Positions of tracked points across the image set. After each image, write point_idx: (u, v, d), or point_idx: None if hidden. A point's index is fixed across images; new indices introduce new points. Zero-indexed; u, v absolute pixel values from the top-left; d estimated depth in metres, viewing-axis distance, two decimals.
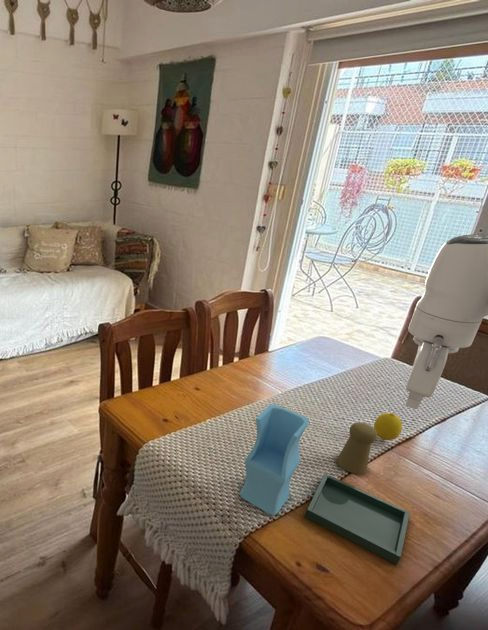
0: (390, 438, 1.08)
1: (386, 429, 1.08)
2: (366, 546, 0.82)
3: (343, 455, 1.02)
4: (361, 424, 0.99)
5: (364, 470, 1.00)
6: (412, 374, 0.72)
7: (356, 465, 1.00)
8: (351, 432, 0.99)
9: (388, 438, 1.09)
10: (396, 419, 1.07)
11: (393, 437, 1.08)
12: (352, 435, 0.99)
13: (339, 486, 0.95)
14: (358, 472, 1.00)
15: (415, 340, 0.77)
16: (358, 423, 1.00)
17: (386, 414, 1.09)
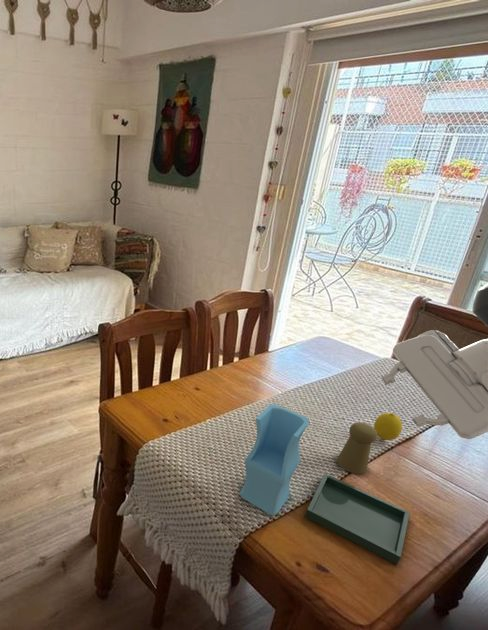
0: (390, 438, 1.08)
1: (386, 429, 1.08)
2: (366, 546, 0.82)
3: (343, 455, 1.02)
4: (361, 424, 0.99)
5: (364, 470, 1.00)
6: None
7: (356, 465, 1.00)
8: (351, 432, 0.99)
9: (388, 438, 1.09)
10: (396, 419, 1.07)
11: (393, 437, 1.08)
12: (352, 435, 0.99)
13: (339, 486, 0.95)
14: (358, 472, 1.00)
15: None
16: (358, 423, 1.00)
17: (386, 414, 1.09)
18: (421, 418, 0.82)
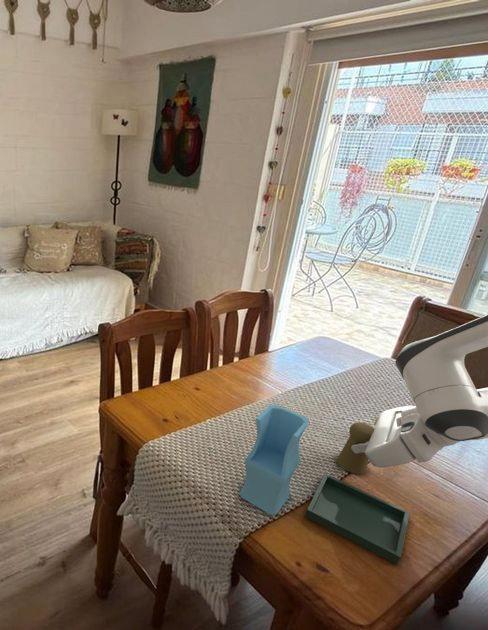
0: None
1: None
2: (366, 546, 0.82)
3: (343, 455, 1.02)
4: (361, 424, 0.99)
5: (364, 470, 1.00)
6: None
7: (356, 465, 1.00)
8: (351, 432, 0.99)
9: None
10: None
11: None
12: (352, 435, 0.99)
13: (339, 486, 0.95)
14: (358, 472, 1.00)
15: None
16: (358, 423, 1.00)
17: None
18: (356, 443, 0.98)
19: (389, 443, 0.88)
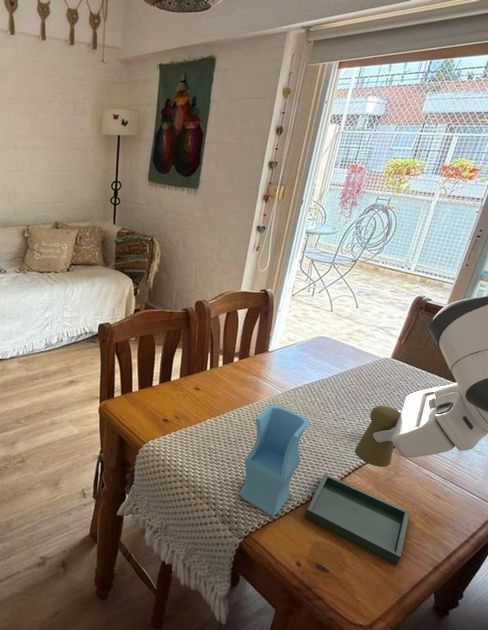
0: None
1: None
2: (366, 546, 0.82)
3: (363, 444, 0.86)
4: (384, 408, 0.84)
5: (388, 462, 0.85)
6: None
7: (378, 456, 0.84)
8: (373, 417, 0.84)
9: None
10: None
11: None
12: (374, 420, 0.84)
13: (339, 486, 0.95)
14: (381, 464, 0.85)
15: None
16: (381, 406, 0.84)
17: None
18: (379, 430, 0.83)
19: (422, 428, 0.72)
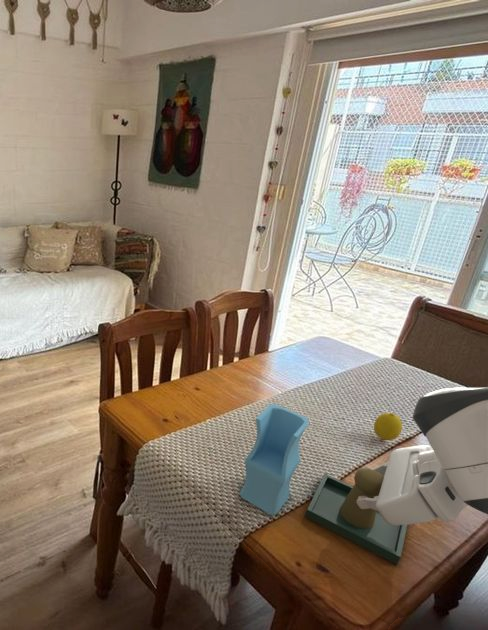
0: (390, 438, 1.08)
1: (386, 429, 1.08)
2: (366, 546, 0.82)
3: (347, 506, 0.87)
4: (368, 471, 0.85)
5: (372, 524, 0.86)
6: None
7: (362, 518, 0.85)
8: (356, 481, 0.85)
9: (388, 438, 1.09)
10: (396, 419, 1.07)
11: (393, 437, 1.08)
12: (358, 484, 0.84)
13: (339, 486, 0.95)
14: (365, 527, 0.86)
15: None
16: (364, 470, 0.85)
17: (386, 414, 1.09)
18: (362, 497, 0.82)
19: (405, 497, 0.73)
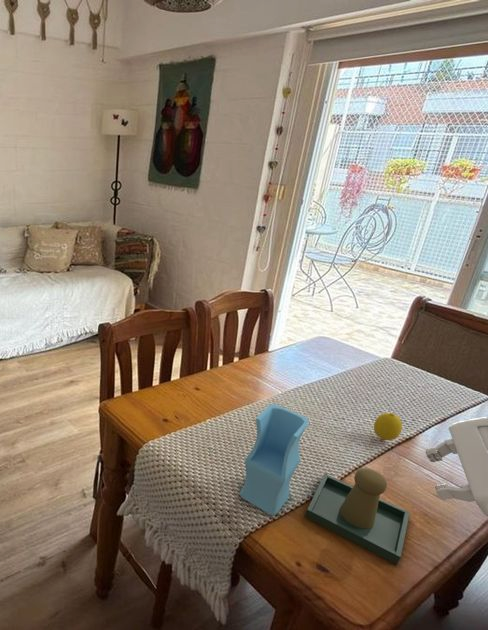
0: (390, 438, 1.08)
1: (386, 429, 1.08)
2: (366, 546, 0.82)
3: (348, 506, 0.87)
4: (368, 471, 0.85)
5: (372, 524, 0.86)
6: None
7: (362, 518, 0.85)
8: (357, 481, 0.85)
9: (388, 438, 1.09)
10: (396, 419, 1.07)
11: (393, 437, 1.08)
12: (358, 484, 0.84)
13: (339, 486, 0.95)
14: (365, 527, 0.86)
15: None
16: (364, 470, 0.85)
17: (386, 414, 1.09)
18: (443, 486, 0.71)
19: None
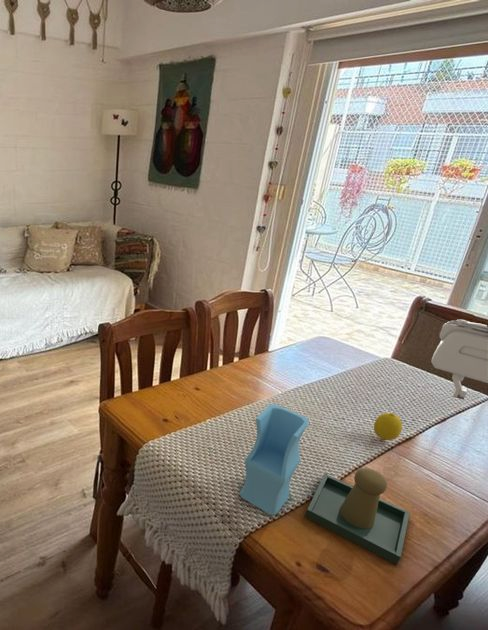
0: (390, 438, 1.08)
1: (386, 429, 1.08)
2: (366, 546, 0.82)
3: (348, 506, 0.87)
4: (368, 471, 0.85)
5: (372, 524, 0.86)
6: (439, 344, 0.78)
7: (362, 518, 0.85)
8: (357, 481, 0.85)
9: (388, 438, 1.09)
10: (396, 419, 1.07)
11: (393, 437, 1.08)
12: (358, 484, 0.84)
13: (339, 486, 0.95)
14: (365, 527, 0.86)
15: None
16: (364, 470, 0.85)
17: (386, 414, 1.09)
18: None
19: None
